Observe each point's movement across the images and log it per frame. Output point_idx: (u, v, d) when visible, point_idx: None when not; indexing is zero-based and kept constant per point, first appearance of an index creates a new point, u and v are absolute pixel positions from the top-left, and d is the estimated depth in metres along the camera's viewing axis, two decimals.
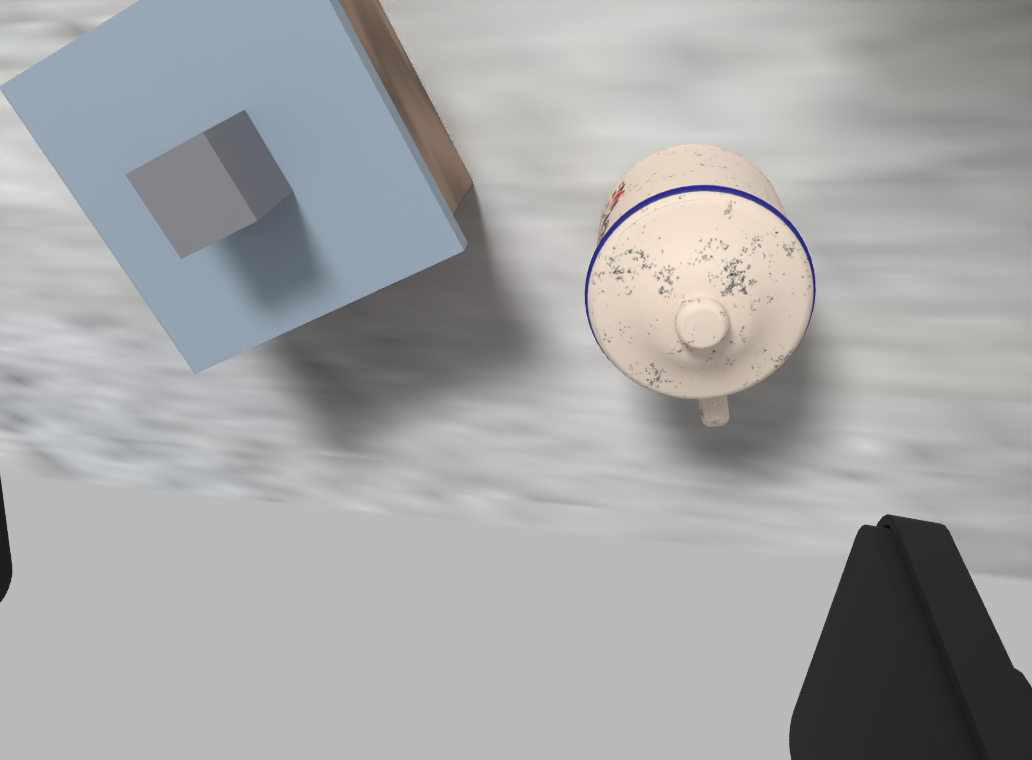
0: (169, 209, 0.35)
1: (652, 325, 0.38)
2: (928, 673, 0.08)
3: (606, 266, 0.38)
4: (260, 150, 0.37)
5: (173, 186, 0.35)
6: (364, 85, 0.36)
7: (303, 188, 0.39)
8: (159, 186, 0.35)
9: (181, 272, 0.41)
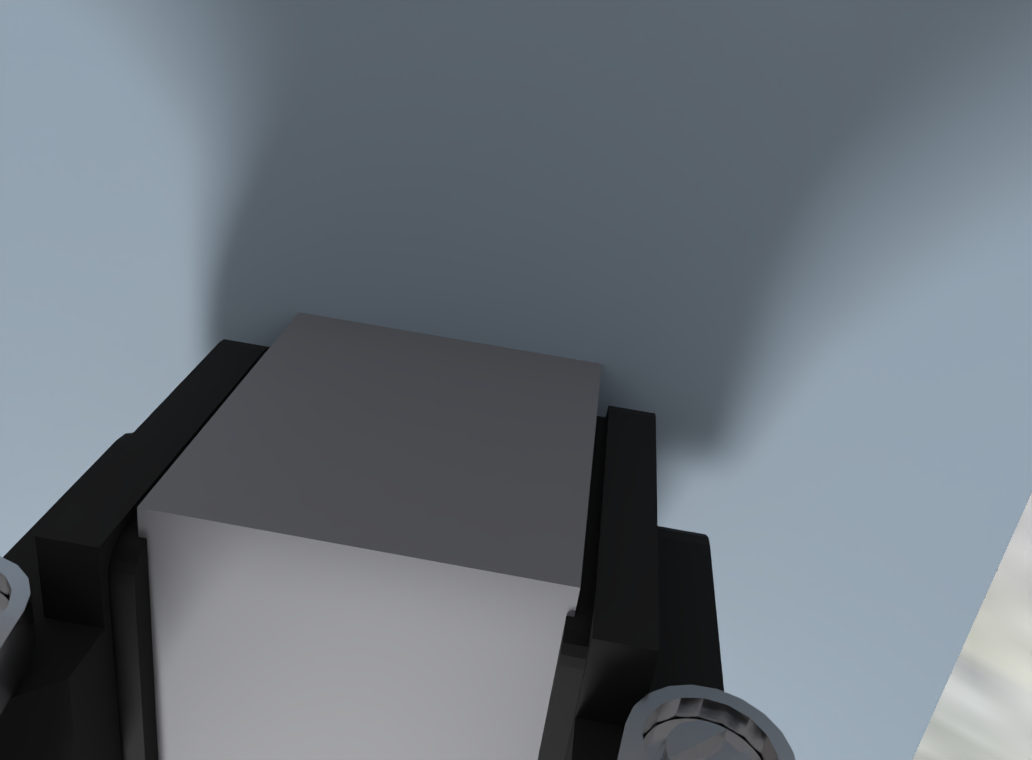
0: (461, 733, 0.08)
1: None
2: None
3: None
4: None
5: None
6: None
7: (262, 298, 0.11)
8: None
9: (873, 331, 0.10)
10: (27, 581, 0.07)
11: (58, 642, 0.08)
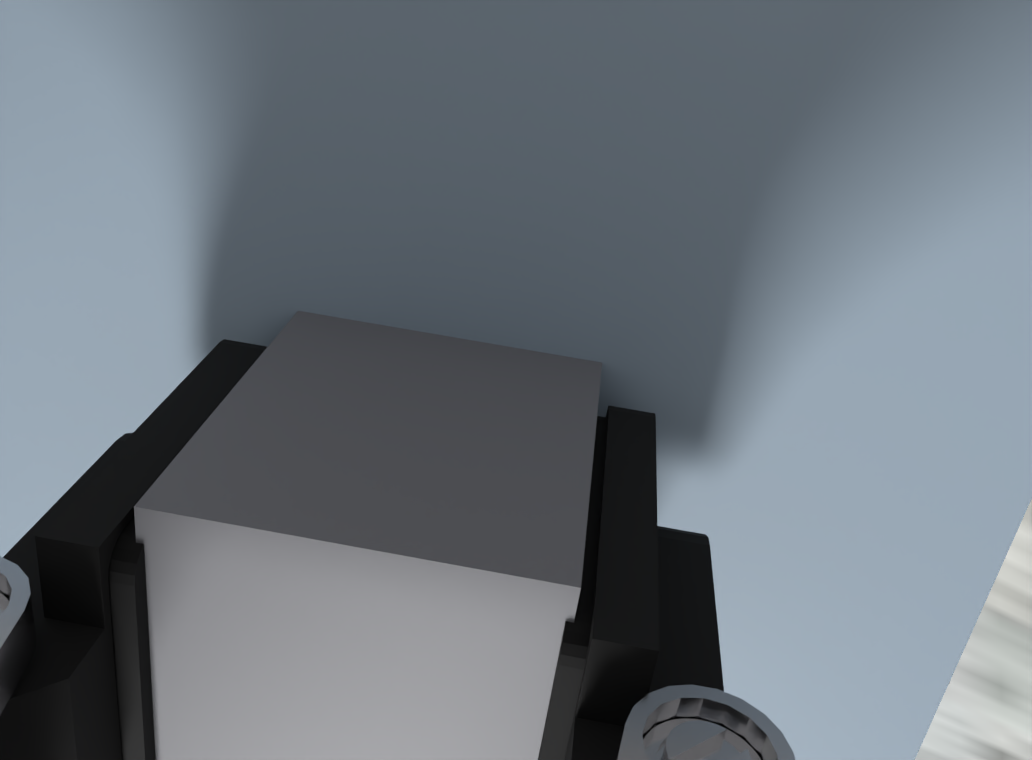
0: (462, 735, 0.08)
1: None
2: None
3: None
4: None
5: None
6: None
7: (261, 296, 0.11)
8: None
9: (876, 329, 0.10)
10: (28, 581, 0.07)
11: (59, 642, 0.08)
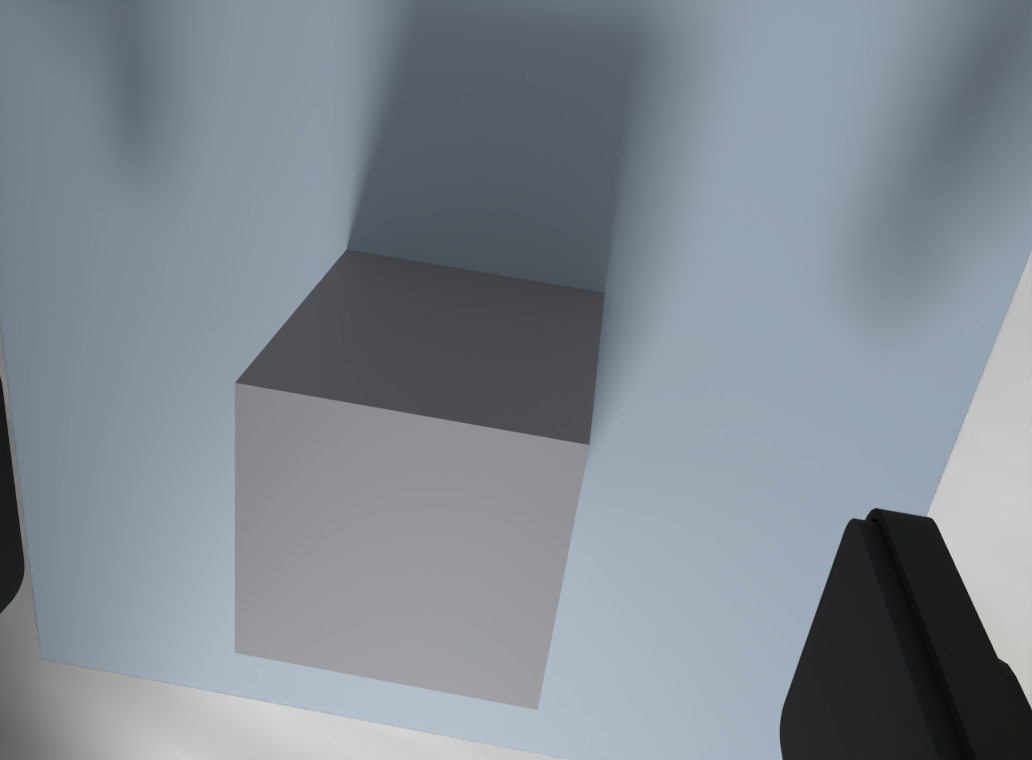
0: (493, 575, 0.10)
1: None
2: (913, 664, 0.08)
3: None
4: None
5: (426, 610, 0.11)
6: (25, 340, 0.14)
7: (315, 237, 0.13)
8: (467, 634, 0.11)
9: (835, 263, 0.12)
10: None
11: None
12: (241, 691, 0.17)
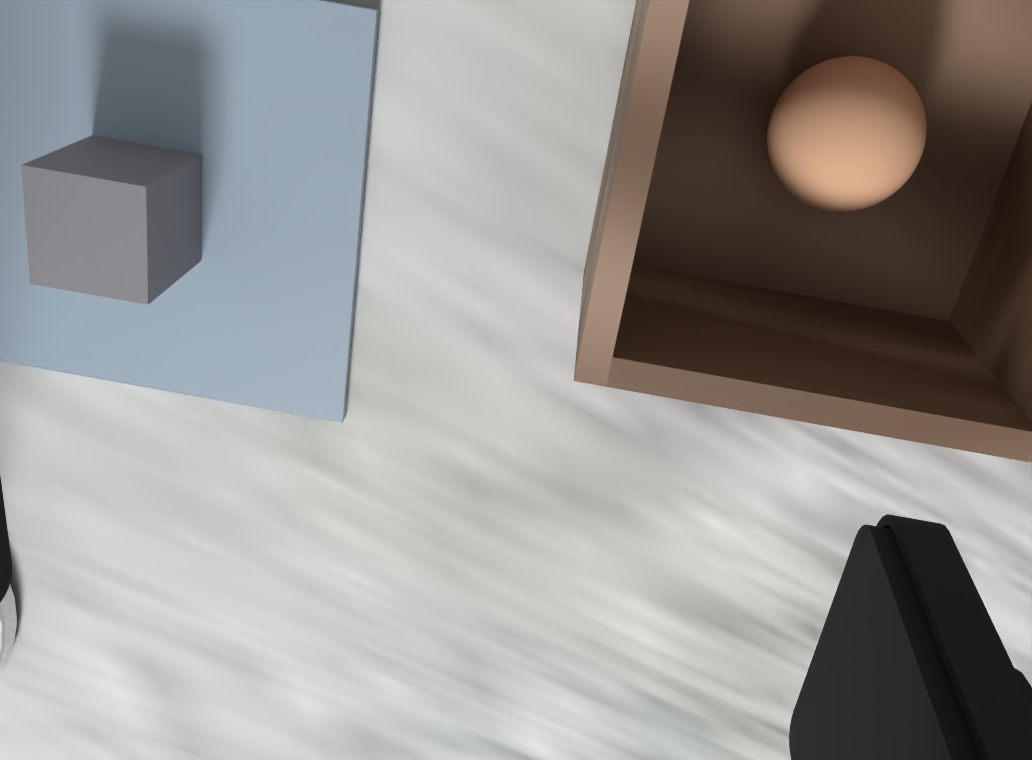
0: (121, 242, 0.27)
1: None
2: (928, 674, 0.08)
3: None
4: None
5: (100, 260, 0.28)
6: None
7: (78, 129, 0.30)
8: (116, 270, 0.28)
9: (292, 140, 0.30)
10: None
11: None
12: (62, 368, 0.34)
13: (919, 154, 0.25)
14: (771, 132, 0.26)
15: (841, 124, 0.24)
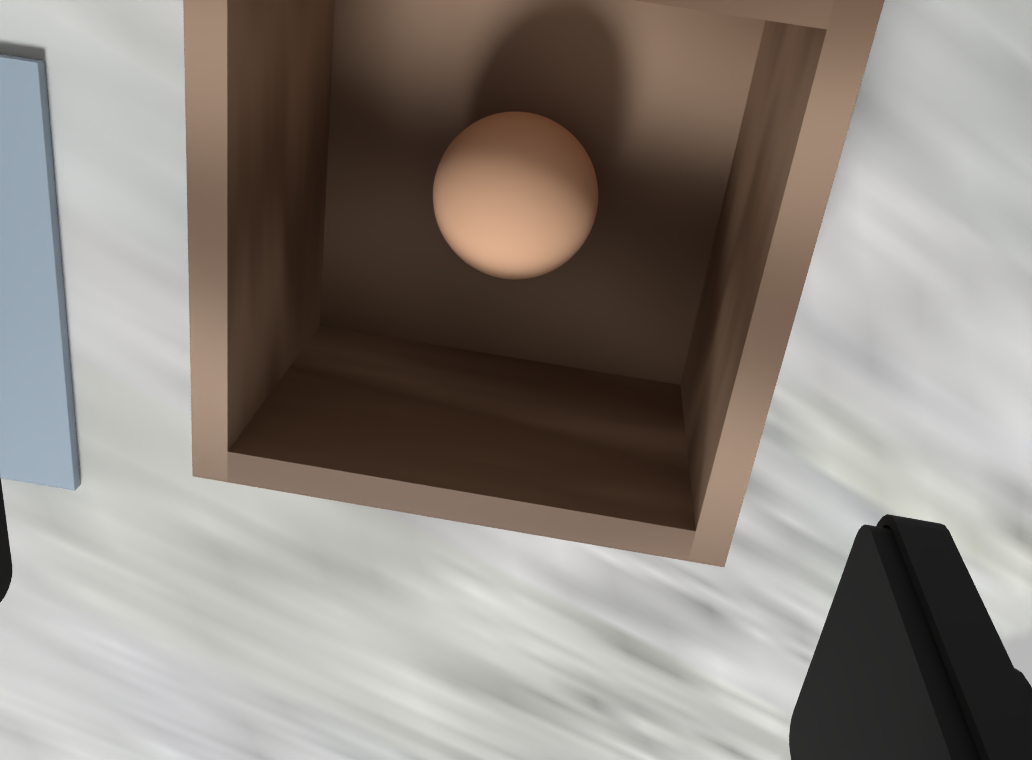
0: None
1: None
2: (928, 673, 0.08)
3: None
4: None
5: None
6: None
7: None
8: None
9: None
10: None
11: None
12: None
13: (582, 219, 0.23)
14: None
15: (482, 191, 0.22)
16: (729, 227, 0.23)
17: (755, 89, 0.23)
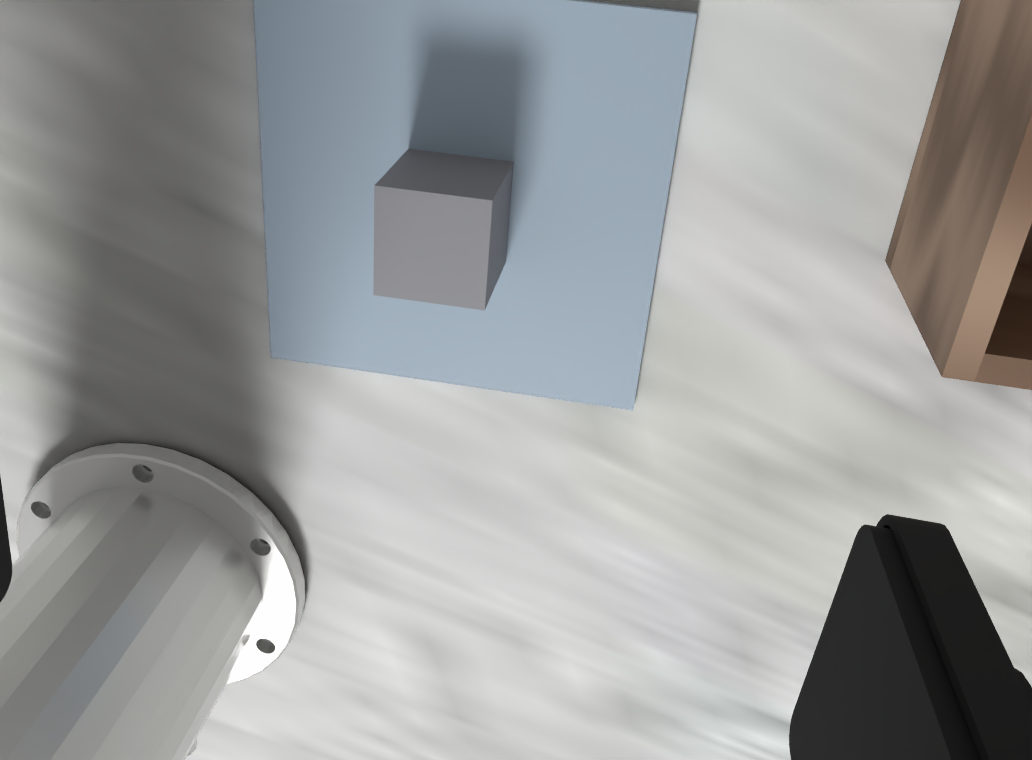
0: (464, 253, 0.29)
1: None
2: (928, 674, 0.08)
3: None
4: None
5: (442, 270, 0.29)
6: (272, 196, 0.33)
7: (395, 144, 0.32)
8: (457, 279, 0.29)
9: (603, 143, 0.31)
10: None
11: None
12: (365, 367, 0.36)
13: None
14: None
15: None
16: None
17: None
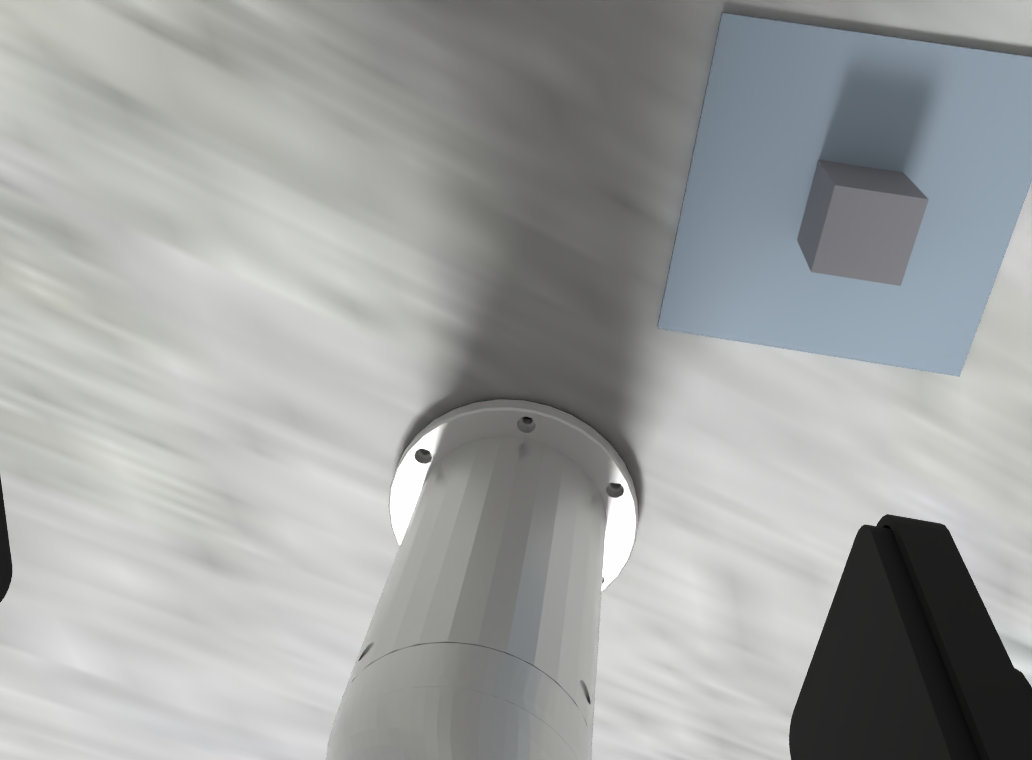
0: (895, 240, 0.37)
1: None
2: (928, 674, 0.08)
3: None
4: (808, 210, 0.41)
5: (873, 253, 0.38)
6: (693, 194, 0.42)
7: (808, 155, 0.40)
8: (884, 260, 0.38)
9: (979, 160, 0.40)
10: None
11: None
12: (738, 338, 0.44)
13: None
14: None
15: None
16: None
17: None
